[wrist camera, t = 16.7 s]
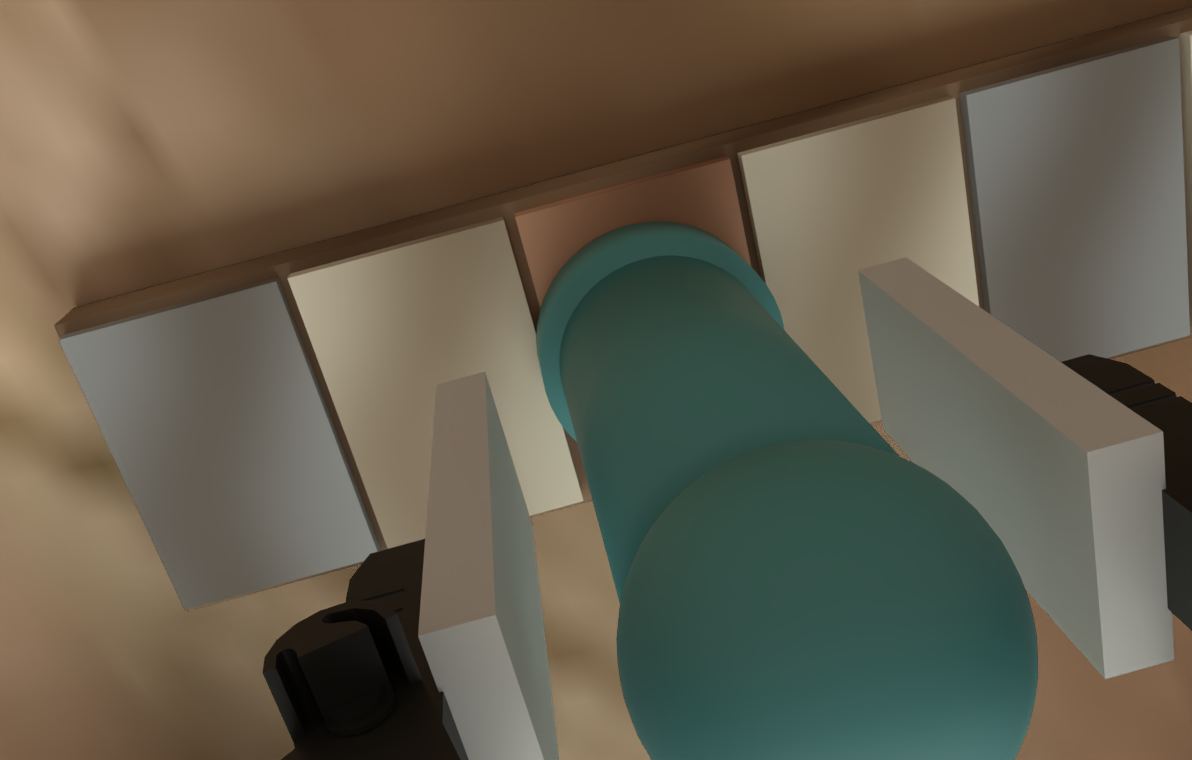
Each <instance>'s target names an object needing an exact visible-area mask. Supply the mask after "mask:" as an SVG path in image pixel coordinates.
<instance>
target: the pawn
mask: <svg viewBox="0 0 1192 760" xmlns="http://www.w3.org/2000/svg"><path fill="white" fill-rule="evenodd" d="M536 344H537V355H538V360H539V365H540V369H541V374H542V378H543V383H544V387H545V392H546V395H547V397H548V400H549V403H550V406H551V408H552V410H553V412H554V413H555V415H556V417H557V419H558V420H559V422H560V423H561V425H562V426H563V427H564V429H565V430H566V431H567V432H568V433H569V435H570V436H571V437H572V438H573V439H574V440H575V441H576V442H577V443H578V447H579V451H580V455H581V458H582V462H583V466H584V470H585V473H586V477H587V481H588V485H589V488H590V492H591V496H592V500H593V504H594V507H595V511H596V515H597V519H598V522H599V526H600V530H601V534H602V537H603V541H604V545H605V549H606V553H607V556H608V560H609V564H610V568H611V571H612V575H613V579H614V583H615V587H616V590H617V594H618V598H619V602H620V609H619V619H618V629H617V659H618V668H619V676H620V681H621V686H622V691H623V696H624V700H625V703H626V705H627V708H628V711H629V714H630V717H631V719H632V722H633V725H634V727H635V730H636V733H637V735H638V737H639V739H640V741H641V742H642V744H643V746H644V747H645V749H646V751H647V753H648V754H649V756H650V758H651V759H652V760H1014V759H1015V757H1016V755H1017V753H1018V751H1019V749H1020V747H1021V744H1022V742H1023V740H1024V737H1025V735H1026V732H1027V730H1028V726H1029V723H1030V719H1031V715H1032V711H1033V706H1034V701H1035V696H1036V689H1037V680H1038V651H1037V634H1036V629H1035V624H1034V618H1033V614H1032V610H1031V606H1030V602H1029V598H1028V595H1027V593H1026V590H1025V587H1024V584H1023V582H1022V579H1021V576H1020V574H1019V572H1018V570H1017V568H1016V566H1015V564H1014V562H1013V560H1012V558H1011V557H1010V555H1009V553H1008V551H1007V550H1006V548H1005V546H1004V544H1003V542H1002V541H1001V539H1000V538H999V537H998V536H997V534H996V533H995V532H994V530H993V529H992V528H991V527H990V525H989V524H988V523H987V522H986V520H985V519H984V518H983V517H982V515H981V514H980V513H979V512H978V510H977V509H976V508H975V507H974V506H972V505H971V504H970V503H969V502H968V501H967V500H966V499H965V498H964V497H962V496H961V495H960V494H959V493H958V492H957V491H956V490H954V489H953V488H952V487H951V486H950V485H948V484H947V483H946V482H945V481H943V480H941V479H940V478H938V477H937V476H935V475H934V474H932V473H931V472H929V471H928V470H926V469H924V468H922V467H920V466H918V465H916V464H914V463H912V462H910V461H908V460H906V459H904V458H902V457H900V456H899V455H898V454H897V453H896V452H895V451H894V450H893V449H892V448H891V446H890V445H889V444H888V443H887V442H886V441H885V440H884V439H883V438H882V437H881V435H880V434H879V433H878V432H877V431H876V430H875V429H874V428H873V427H872V426H871V424H870V423H869V422H868V421H867V420H866V419H865V418H864V417H863V416H862V415H861V414H860V412H859V411H858V410H857V409H856V408H855V407H854V406H853V405H852V404H851V403H850V401H849V400H848V399H847V398H846V397H845V396H844V395H843V394H842V393H841V392H840V391H839V389H838V388H837V387H836V386H835V385H834V384H833V383H832V382H831V381H830V380H829V378H828V377H827V376H826V375H825V374H824V373H823V372H822V371H821V370H820V369H819V368H818V366H817V365H816V364H815V363H814V362H813V361H812V360H811V359H810V358H809V357H808V355H807V354H806V353H805V352H804V351H803V350H802V349H801V348H800V347H799V346H798V345H797V343H796V342H795V341H794V340H793V339H792V338H791V337H790V336H789V335H788V334H787V332H786V331H785V330H784V324H783V321H782V317H781V313H780V310H779V308H778V305H777V303H776V301H775V298H774V296H773V295H772V293H771V291H770V290H769V288H768V286H767V285H766V283H765V282H764V281H763V280H762V279H761V277H760V276H759V275H758V274H757V273H756V272H755V271H754V269H753V268H752V267H751V266H750V265H749V264H748V263H747V262H746V261H745V260H744V259H743V258H742V257H741V256H740V255H739V254H737V253H736V252H735V251H734V250H733V249H732V248H731V247H730V246H729V245H728V244H726V243H725V242H723V241H722V240H720V239H719V238H717V237H716V236H714V235H712V234H710V233H708V232H706V231H704V230H701V229H698V228H696V227H693V226H690V225H685V224H680V223H675V222H662V221H654V222H641V223H636V224H631V225H627V226H624V227H621V228H618V229H615V230H612V231H610V232H608V233H606V234H604V235H602V236H600V237H598V238H596V239H594V240H593V241H591V242H590V243H588V244H587V245H585V246H584V247H583V248H581V249H580V250H579V251H578V252H577V253H576V254H574V255H573V256H572V257H571V258H570V259H569V260H568V262H567V263H566V264H565V265H564V266H563V267H562V268H561V270H560V271H559V272H558V274H557V275H556V277H555V278H554V280H553V281H552V283H551V285H550V287H549V289H548V291H547V293H546V295H545V297H544V300H543V303H542V306H541V309H540V313H539V318H538V323H537V334H536Z"/></svg>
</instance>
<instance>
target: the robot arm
mask: <svg viewBox="0 0 1192 760" xmlns="http://www.w3.org/2000/svg"><path fill="white" fill-rule="evenodd" d="M858 275H859V281H860V288H861V294H862V300H863V306H864V313H865V319H866V325H867V332H868V338H869V344H870V350H871V357H872V363H873V369H874V376H875V382H876V388H877V394H878V401H879V407H880V413H881V420H882V426H883V429H884V430H885V431H886V433H887V434H888V435H889V436H890V437H891V438H892V439H893V440H894V442H895V443H896V444H897V445H898V446H899V447H900V448H901V450H902V451H903V452H904V453H905V454H906V455H907V456H908V457H909V459H910V460H911V461H912V462H913V463H914V464H916V465H918V466H920V467H922V468H924V469H926V470H928V471H929V472H931V473H932V474H934V475H935V476H937V477H938V478H940V479H941V480H943V481H945V482H946V483H947V484H948V485H950V486H951V487H952V488H953V489H954V490H956V491H957V492H958V493H959V494H960V495H961V496H962V497H964V498H965V499H966V500H967V501H968V502H969V503H970V504H971V505H972V506H974V507H975V508H976V509H977V510H978V512H979V513H980V514H981V515H982V517H983V518H984V519H985V520H986V522H987V523H988V524H989V525H990V527H991V528H992V529H993V530H994V532H995V533H996V534H997V536H998V537H999V538H1000V539H1001V541H1002V542H1003V544H1004V546H1005V548H1006V550H1007V551H1008V553H1009V555H1010V557H1011V558H1012V560H1013V562H1014V564H1015V566H1016V568H1017V570H1018V572H1019V574H1020V576H1021V579H1022V582H1023V584H1024V587H1025V589H1026V591H1027V592H1028V593H1029V594H1030V595H1031V596H1032V597H1033V598H1034V600H1035V601H1036V602H1037V603H1038V604H1039V605H1040V606H1041V607H1042V609H1043V610H1044V611H1045V612H1046V613H1047V614H1048V615H1049V616H1050V618H1051V619H1052V620H1053V621H1054V622H1055V623H1056V624H1057V626H1058V627H1059V628H1060V629H1061V630H1062V631H1063V632H1064V633H1065V635H1066V636H1067V637H1068V638H1069V639H1070V640H1071V641H1072V642H1073V644H1074V645H1075V646H1076V647H1077V648H1078V649H1079V650H1080V651H1081V653H1082V654H1083V655H1084V656H1085V657H1086V658H1087V659H1088V660H1089V662H1090V663H1091V664H1092V665H1093V666H1094V667H1095V668H1096V670H1097V671H1098V672H1099V673H1100V674H1101V675H1102V676H1103V677H1104V679H1108V678H1111V677H1115V676H1118V675H1122V674H1126V673H1129V672H1133V671H1136V670H1140V669H1144V668H1147V667H1151V666H1154V665H1158V664H1162V663H1165V662H1169V661H1172V660H1174V642H1173V622H1172V613H1173V614H1174V615H1175V616H1177V617H1178V618H1179V619H1180V620H1181V621H1182V622H1183V623H1184V624H1185V625H1186V626H1187V627H1188V628H1189V629H1191V630H1192V403H1191V402H1189V401H1188V400H1186V399H1184V398H1183V397H1181V396H1180V397H1176V395H1175V392H1173V391H1171V390H1170V389H1168V388H1166V387H1165V386H1163V385H1161V384H1160V383H1157V384H1155V383H1154V380H1153V379H1152V378H1150V377H1148V376H1147V375H1145V374H1143V373H1142V372H1140V371H1139V370H1137V369H1135V368H1134V367H1132V366H1130V365H1129V364H1126V363H1122V362H1118V361H1114V360H1111V359H1107V358H1103V357H1099V356H1095V355H1091V354H1088V355H1084V356H1081V357H1077V358H1073V359H1070V360H1066V361H1062V362H1060V361H1058V360H1057V359H1055V358H1054V357H1052V356H1051V355H1049V354H1048V353H1046V352H1045V351H1043V350H1042V349H1041V348H1039V347H1038V346H1036V345H1035V344H1033V343H1032V342H1030V341H1029V340H1027V339H1026V338H1024V337H1023V336H1021V335H1020V334H1018V333H1017V332H1015V331H1014V330H1013V329H1011V328H1010V327H1008V326H1007V325H1005V324H1004V323H1002V322H1001V321H999V320H998V319H996V318H995V317H993V316H992V315H990V314H989V313H987V312H986V311H984V310H983V309H982V308H980V307H979V306H977V305H976V304H974V303H973V302H971V301H970V300H968V299H967V298H965V297H964V296H962V295H961V294H959V293H958V292H956V291H955V290H953V289H952V288H951V287H949V286H948V285H946V284H945V283H943V282H942V281H940V280H939V279H937V278H936V277H934V276H933V275H931V274H930V273H928V272H927V271H925V270H924V269H923V268H921V267H920V266H918V265H917V264H915V263H914V262H912V261H911V260H909V259H908V258H906V257H905V258H901V259H897V260H894V261H890V262H886V263H883V264H879V265H875V266H872V267H868V268H864V269H860V270H858ZM263 675H264V677H265V679H266V681H267V684H268V686H269V688H270V690H271V693H272V695H273V697H274V699H275V702H276V704H277V706H278V708H279V711H280V713H281V715H282V717H283V719H284V722H285V724H286V726H287V728H288V731H289V733H290V735H291V737H292V740H293V742H294V746H295V749H294V750H293V751H292V752H290V753H289V754H288V755H286V756H285V757H284V758H283V759H281V760H559V753H558V744H557V736H556V727H555V718H554V709H553V701H552V692H551V683H550V674H549V666H548V657H547V648H546V640H545V631H544V622H543V613H542V605H541V596H540V587H539V578H538V570H537V561H536V552H535V543H534V535H533V526H532V522H531V519H530V515H529V512H528V509H527V506H526V502H525V499H524V496H523V493H522V489H521V486H520V483H519V480H518V476H517V473H516V470H515V467H514V463H513V460H512V457H511V454H510V450H509V447H508V444H507V441H506V437H505V434H504V431H503V428H502V424H501V421H500V418H499V415H498V411H497V408H496V405H495V402H494V399H493V395H492V392H491V389H490V386H489V382H488V379H487V376H486V373H485V372H481V373H478V374H474V375H470V376H466V377H463V378H459V379H455V380H452V381H448V382H444V383H441V384H437V386H436V399H435V413H434V426H433V440H432V454H431V467H430V481H429V494H428V508H427V522H426V535H425V539H422V540H418V541H415V542H411V543H407V544H404V545H400V546H396V547H393V548H389V549H385V550H382V551H378V552H375V553H371V554H369V556H368V557H367V558H366V559H365V561H364V562H363V563H362V565H361V566H360V567H359V569H358V570H357V571H356V572H355V574H354V575H353V576H352V578H351V579H350V582H349V587H348V592H347V598H346V603H343V604H340V605H337V606H333V607H330V608H327V609H324V610H321V611H319V612H317V613H315V614H313V615H312V616H310V617H308V618H306V619H304V620H302V621H300V622H299V623H297V624H295V625H294V626H293V627H292V628H291V629H289V630H288V631H287V632H286V633H285V634H283V635H282V636H281V637H280V638H279V639H277V640H276V642H275V643H274V645H273V646H272V648H271V649H270V651H269V652H268V653H267V655H266V656H265V660H264V668H263Z"/></svg>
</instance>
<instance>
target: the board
mask: <svg viewBox="0 0 1192 760" xmlns="http://www.w3.org/2000/svg"><path fill="white" fill-rule="evenodd" d="M654 221H662V222H675V223H680V224H685V225H690V226H693V227H696V228H698V229H701V230H704V231H706V232H708V233H710V234H712V235H714V236H716V237H717V238H719V239H720V240H722V241H723V242H725V243H726V244H728V245H729V246H730V247H731V248H732V249H733V250H734V251H735V252H736V253H737V254H739V255H740V256H741V257H742V258H743V259H744V260H745V261H746V262H747V263H748V264H749V265H750V266H751V267H752V268H753V269H754V271H755V272H756V273H757V274H758V275H759V276H760V277H761V279H762V280H763V281H764V282H765V283H766V285H767V286H768V288H769V290H770V291H771V293H772V295H773V296H774V298H775V301H776V303H777V305H778V308H779V310H780V313H781V317H782V321H783V324H784V330H785V331H786V332H787V334H788V335H789V336H790V337H791V338H792V339H793V340H794V341H795V342H796V343H797V345H798V346H799V347H800V348H801V349H802V350H803V351H804V352H805V353H806V354H807V355H808V357H809V358H810V359H811V360H812V361H813V362H814V363H815V364H816V365H817V366H818V368H819V369H820V370H821V371H822V372H823V373H824V374H825V375H826V376H827V377H828V378H829V380H830V381H831V382H832V383H833V384H834V385H835V386H836V387H837V388H838V389H839V391H840V392H841V393H842V394H843V395H844V396H845V397H846V398H847V399H848V400H849V401H850V403H851V404H852V405H853V406H854V407H855V408H856V409H857V410H858V411H859V412H860V414H861V415H862V416H863V417H864V418H865V419H866V420H867V421H868V422H869V423H870V424H874V423H878V422H882V420H881V413H880V407H879V401H878V394H877V388H876V382H875V376H874V369H873V363H872V357H871V350H870V344H869V338H868V332H867V325H866V319H865V313H864V306H863V300H862V294H861V288H860V281H859V275H858V270H860V269H864V268H868V267H872V266H875V265H879V264H883V263H886V262H890V261H894V260H897V259H901V258H905V257H906V258H908V259H909V260H911V261H912V262H914V263H915V264H917V265H918V266H920V267H921V268H923V269H924V270H925V271H927V272H928V273H930V274H931V275H933V276H934V277H936V278H937V279H939V280H940V281H942V282H943V283H945V284H946V285H948V286H949V287H951V288H952V289H953V290H955V291H956V292H958V293H959V294H961V295H962V296H964V297H965V298H967V299H968V300H970V301H971V302H973V303H974V304H976V305H977V306H979V307H980V308H982V309H983V310H984V311H986V312H987V313H989V314H990V315H992V316H993V317H995V318H996V319H998V320H999V321H1001V322H1002V323H1004V324H1005V325H1007V326H1008V327H1010V328H1011V329H1013V330H1014V331H1015V332H1017V333H1018V334H1020V335H1021V336H1023V337H1024V338H1026V339H1027V340H1029V341H1030V342H1032V343H1033V344H1035V345H1036V346H1038V347H1039V348H1041V349H1042V350H1043V351H1045V352H1046V353H1048V354H1049V355H1051V356H1052V357H1054V358H1055V359H1057V360H1058V361H1060V362H1062V361H1066V360H1070V359H1073V358H1077V357H1081V356H1084V355H1088V354H1091V355H1095V356H1099V357H1103V358H1107V359H1112V358H1116V357H1119V356H1123V355H1127V354H1130V353H1134V352H1138V351H1141V350H1145V349H1149V348H1152V347H1156V346H1159V345H1163V344H1167V343H1170V342H1174V341H1178V340H1181V339H1185V338H1189V337H1192V7H1189V8H1185V9H1181V10H1178V11H1174V12H1170V13H1166V14H1163V15H1159V16H1155V17H1152V18H1148V19H1144V20H1141V21H1137V22H1133V23H1129V24H1126V25H1122V26H1118V27H1115V28H1111V29H1107V30H1103V31H1100V32H1096V33H1092V34H1089V35H1085V36H1081V37H1077V38H1074V39H1070V40H1066V41H1063V42H1059V43H1055V44H1051V45H1048V46H1044V47H1040V48H1037V49H1033V50H1029V51H1026V52H1022V53H1018V54H1014V55H1011V56H1007V57H1003V58H1000V59H996V60H992V61H988V62H985V63H981V64H977V65H974V66H970V67H966V68H962V69H959V70H955V71H951V72H948V73H944V74H940V75H936V76H933V77H929V78H925V79H922V80H918V81H914V82H910V83H907V84H903V85H899V86H896V87H892V88H888V89H885V90H881V91H877V92H873V93H870V94H866V95H862V96H859V97H855V98H851V99H847V100H844V101H840V102H836V103H833V104H829V105H825V106H821V107H818V108H814V109H810V110H807V111H803V112H799V113H795V114H792V115H788V116H784V117H781V118H777V119H773V120H769V121H766V122H762V123H758V124H755V125H751V126H747V127H744V128H740V129H736V130H732V131H729V132H725V133H721V134H718V135H714V136H710V137H706V138H703V139H699V140H695V141H692V142H688V143H684V144H680V145H677V146H673V147H669V148H666V149H662V150H658V151H654V152H651V153H647V154H643V155H640V156H636V157H632V158H629V159H625V160H621V161H617V162H614V163H610V164H606V165H603V166H599V167H595V168H591V169H588V170H584V171H580V172H577V173H573V174H569V175H565V176H562V177H558V178H554V179H551V180H547V181H543V182H539V183H536V184H532V185H528V186H525V187H521V188H517V189H513V190H510V191H506V192H502V193H499V194H495V195H491V196H488V197H484V198H480V199H476V200H473V201H469V202H465V203H462V204H458V205H454V206H450V207H447V208H443V209H439V210H436V211H432V212H428V213H424V214H421V215H417V216H413V217H410V218H406V219H402V220H398V221H395V222H391V223H387V224H384V225H380V226H376V227H373V228H369V229H365V230H361V231H358V232H354V233H350V234H347V235H343V236H339V237H335V238H332V239H328V240H324V241H321V242H317V243H313V244H309V245H306V246H302V247H298V248H295V249H291V250H287V251H283V252H280V253H276V254H272V255H269V256H265V257H261V258H257V259H254V260H250V261H246V262H243V263H239V264H235V265H232V266H228V267H224V268H220V269H217V270H213V271H209V272H206V273H202V274H198V275H194V276H191V277H187V278H183V279H180V280H176V281H172V282H168V283H165V284H161V285H157V286H154V287H150V288H146V289H142V290H139V291H135V292H131V293H128V294H124V295H120V296H117V297H113V298H109V299H105V300H102V301H98V302H94V303H91V304H87V305H83V306H79V307H76V308H73V309H72V310H71V311H70V312H69V313H68V314H66V315H65V316H64V317H63V318H62V319H61V320H60V321H59V322H57V323H56V324H55V325H54V326H55V328H56V330H57V333H58V335H59V337H60V339H59V342H60V344H61V346H62V348H63V351H64V353H65V355H66V357H67V359H68V361H69V363H70V366H71V368H72V370H73V372H74V374H75V376H76V378H77V381H78V383H79V385H80V387H81V389H82V391H83V393H84V396H85V398H86V400H87V402H88V404H89V406H90V408H91V411H92V413H93V415H94V417H95V419H96V421H97V423H98V426H99V428H100V430H101V432H102V434H103V436H104V438H105V441H106V443H107V445H108V447H109V449H110V451H111V453H112V456H113V458H114V460H115V462H116V464H117V466H118V468H119V471H120V473H121V475H122V477H123V479H124V481H125V483H126V486H127V488H128V490H129V492H130V494H131V496H132V498H133V501H134V503H135V505H136V507H137V509H138V511H139V513H140V516H141V518H142V520H143V522H144V524H145V526H146V529H147V531H148V533H149V535H150V537H151V539H152V541H153V544H154V546H155V548H156V550H157V552H158V554H159V556H160V559H161V561H162V563H163V565H164V567H165V569H166V571H167V574H168V576H169V578H170V580H171V582H172V584H173V586H174V589H175V591H176V593H177V595H178V597H179V599H180V601H181V604H182V606H183V608H184V610H187V611H191V610H194V609H198V608H202V607H205V606H209V605H212V604H216V603H220V602H223V601H227V600H231V599H234V598H238V597H242V596H245V595H249V594H253V593H256V592H260V591H264V590H267V589H271V588H275V587H278V586H282V585H286V584H289V583H293V582H297V581H300V580H304V579H308V578H311V577H315V576H319V575H322V574H326V573H329V572H333V571H337V570H340V569H344V568H348V567H351V566H355V565H359V564H362V563H363V562H364V561H365V559H366V558H367V557H368V556H369V554H371V553H375V552H378V551H382V550H385V549H389V548H393V547H396V546H400V545H404V544H407V543H411V542H415V541H418V540H422V539H425V535H426V522H427V508H428V494H429V481H430V467H431V454H432V440H433V426H434V413H435V399H436V386H437V384H441V383H444V382H448V381H452V380H455V379H459V378H463V377H466V376H470V375H474V374H478V373H481V372H485V373H486V376H487V379H488V382H489V386H490V389H491V392H492V395H493V399H494V402H495V405H496V408H497V411H498V415H499V418H500V421H501V424H502V428H503V431H504V434H505V437H506V441H507V444H508V447H509V450H510V454H511V457H512V460H513V463H514V467H515V470H516V473H517V476H518V480H519V483H520V486H521V489H522V493H523V496H524V499H525V502H526V506H527V509H528V512H529V515H530V518H531V517H534V516H538V515H542V514H545V513H549V512H553V511H556V510H560V509H564V508H567V507H571V506H574V505H578V504H582V503H585V502H589V501H593V500H592V496H591V492H590V488H589V485H588V481H587V477H586V473H585V470H584V466H583V462H582V458H581V455H580V451H579V447H578V443H577V442H576V441H575V440H574V439H573V438H572V437H571V436H570V435H569V433H568V432H567V431H566V430H565V429H564V427H563V426H562V425H561V423H560V422H559V420H558V419H557V417H556V415H555V413H554V412H553V410H552V408H551V406H550V403H549V400H548V397H547V395H546V392H545V387H544V383H543V378H542V374H541V369H540V365H539V360H538V355H537V344H536V334H537V323H538V318H539V313H540V309H541V306H542V303H543V300H544V297H545V295H546V293H547V291H548V289H549V287H550V285H551V283H552V281H553V280H554V278H555V277H556V275H557V274H558V272H559V271H560V270H561V268H562V267H563V266H564V265H565V264H566V263H567V262H568V260H569V259H570V258H571V257H572V256H573V255H574V254H576V253H577V252H578V251H579V250H580V249H581V248H583V247H584V246H585V245H587V244H588V243H590V242H591V241H593V240H594V239H596V238H598V237H600V236H602V235H604V234H606V233H608V232H610V231H612V230H615V229H618V228H621V227H624V226H627V225H631V224H636V223H641V222H654Z"/></svg>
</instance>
